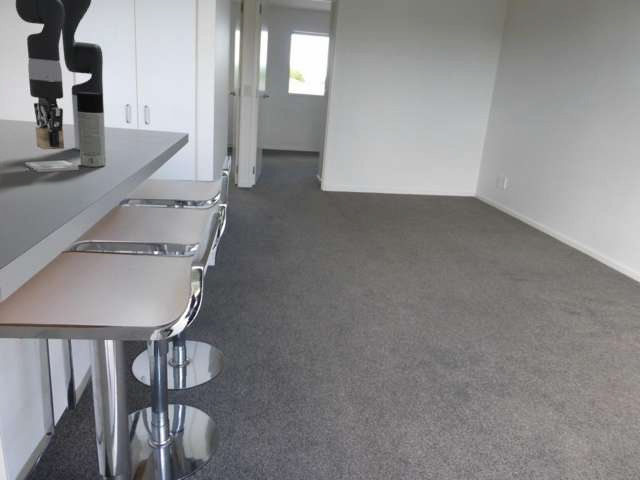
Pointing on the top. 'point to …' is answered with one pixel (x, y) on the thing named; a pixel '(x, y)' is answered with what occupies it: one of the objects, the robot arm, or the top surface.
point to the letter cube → (47, 138)
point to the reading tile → (52, 166)
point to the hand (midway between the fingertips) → (50, 144)
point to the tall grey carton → (91, 129)
